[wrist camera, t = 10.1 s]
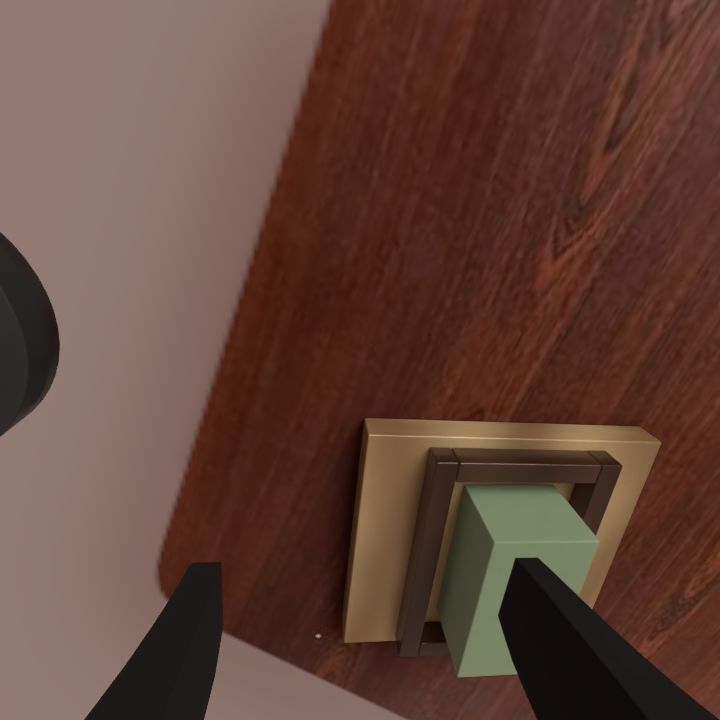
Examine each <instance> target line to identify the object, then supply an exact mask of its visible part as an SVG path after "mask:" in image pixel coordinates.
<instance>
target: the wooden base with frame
mask: <svg viewBox="0 0 720 720" xmlns="http://www.w3.org/2000/svg"><path fill="white" fill-rule="evenodd" d="M660 445H661V442H660V441H659V440H657V439H656V438H655V437H653V436H652V435H650V434H649V433H648V432H646V431H645V430H643V429H642V428H641V427H638V426H605V425H573V424H541V423H508V422H476V421H443V420H411V419H379V418H365V419H364V426H363V435H362V443H361V452H360V461H359V470H358V479H357V487H356V496H355V505H354V514H353V523H352V532H351V540H350V549H349V558H348V567H347V576H346V584H345V593H344V602H343V611H342V629H343V641H344V643H353V642H377V641H396V643H397V648H398V653H399V657H412V656H417V655H418V656H436V655H450V652H449V648H448V645H447V642H446V638H445V635H444V632H443V628H442V625H441V622H440V618H439V615H438V612H437V608H436V607H437V603H438V598H439V594H440V589H441V585H442V581H443V576H444V572H445V567H446V563H447V558H448V554H449V550H450V545H451V541H452V536H453V532H454V528H455V523H456V519H457V514H458V510H459V506H460V501H461V497H462V492H463V488H464V485H553V486H555V487H556V488H557V490H558V491H559V492H560V493H561V495H562V496H563V497H564V498H565V499H566V501H567V502H568V503H569V504H570V505H571V507H572V508H573V509H574V510H575V512H576V513H577V514H578V515H579V516H580V518H581V519H582V520H583V521H584V522H585V524H586V525H587V526H588V527H589V529H590V530H591V531H592V532H593V533H594V535H595V536H596V537H597V538H598V540H599V541H600V543H599V546H598V548H597V551H596V553H595V556H594V558H593V561H592V563H591V566H590V568H589V571H588V573H587V576H586V579H585V581H584V584H583V586H582V589H581V591H580V594H579V597H580V598H581V599H582V600H583V601H584V602H585V603H586V604H587V605H588V606H589V607H590V608H591V609H592V608H593V606H594V604H595V601H596V599H597V596H598V594H599V592H600V589H601V587H602V584H603V582H604V580H605V577H606V575H607V572H608V570H609V568H610V565H611V563H612V560H613V558H614V556H615V553H616V551H617V548H618V546H619V544H620V541H621V539H622V536H623V534H624V531H625V529H626V527H627V524H628V522H629V519H630V517H631V515H632V512H633V510H634V507H635V505H636V503H637V500H638V498H639V495H640V493H641V491H642V488H643V486H644V483H645V481H646V479H647V476H648V474H649V471H650V469H651V467H652V464H653V462H654V459H655V457H656V455H657V452H658V450H659V447H660Z"/></svg>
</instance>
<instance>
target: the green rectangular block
mask: <svg viewBox="0 0 720 720" xmlns="http://www.w3.org/2000/svg"><path fill="white" fill-rule="evenodd" d="M599 543H600V541H599V540H598V538H597V537H596V536H595V535H594V533H593V532H592V531H591V530H590V529H589V527H588V526H587V525H586V524H585V522H584V521H583V520H582V519H581V518H580V516H579V515H578V514H577V513H576V512H575V510H574V509H573V508H572V507H571V505H570V504H569V503H568V502H567V501H566V499H565V498H564V497H563V496H562V495H561V493H560V492H559V491H558V490H557V488H556V487H555V486H553V485H464V488H463V492H462V497H461V501H460V506H459V510H458V514H457V519H456V523H455V528H454V532H453V536H452V541H451V545H450V550H449V554H448V558H447V563H446V567H445V572H444V576H443V581H442V585H441V589H440V594H439V598H438V603H437V607H436V608H437V612H438V615H439V618H440V622H441V625H442V628H443V632H444V635H445V638H446V642H447V645H448V648H449V652H450V655H451V658H452V662H453V665H454V668H455V672H456V675H457V677H473V676H492V675H510V674H517V671H516V669H515V667H514V664H513V662H512V659H511V656H510V653H509V650H508V647H507V644H506V641H505V637H504V634H503V631H502V627H501V624H500V621H499V617H498V613H499V610H500V607H501V603H502V600H503V597H504V593H505V590H506V587H507V584H508V580H509V577H510V574H511V570H512V567H513V564H514V561H515V558H539V559H540V560H541V561H542V562H543V563H544V564H545V565H547V566H548V567H549V568H550V569H551V570H552V571H553V572H554V573H555V574H556V575H557V576H558V577H559V578H560V579H561V580H562V581H563V582H564V583H565V584H566V585H567V586H568V587H570V588H571V589H572V590H573V591H574V592H575V593H576V594H577V595H578V596H579V594H580V591H581V589H582V586H583V584H584V581H585V579H586V576H587V573H588V571H589V568H590V566H591V563H592V561H593V558H594V556H595V553H596V551H597V548H598V546H599Z"/></svg>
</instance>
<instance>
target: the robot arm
mask: <svg viewBox="0 0 720 720" xmlns="http://www.w3.org/2000/svg"><path fill="white" fill-rule="evenodd" d="M498 617H499V621H500V624H501V627H502V631H503V634H504V637H505V641H506V644H507V647H508V650H509V653H510V656H511V659H512V662H513V664H514V667H515V669H516V671H517V674H518V676H519V679H520V681H521V683H522V686H523V688H524V690H525V693H526V695H527V697H528V700H529V702H530V704H531V706H532V709H533V711H534V713H535V716H536V718H537V720H719V719H718V718H717V717H715V716H714V715H713V714H711V713H710V712H709V711H708V710H706V709H705V708H704V707H703V706H701V705H700V704H699V703H697V702H696V701H695V700H694V699H693V698H691V697H690V696H689V695H688V694H687V693H685V692H684V691H683V690H682V689H680V688H679V687H678V686H677V685H676V684H675V683H673V682H672V681H671V680H670V679H669V678H668V677H666V676H665V675H664V674H663V673H662V672H661V671H659V670H658V669H657V668H656V667H655V666H654V665H653V664H651V663H650V662H649V661H648V660H647V659H646V658H644V657H643V656H642V655H641V654H640V653H639V652H638V651H637V650H636V649H634V648H633V647H632V646H631V645H630V644H629V643H628V642H627V641H626V640H624V639H623V638H622V637H621V636H620V635H619V634H618V633H617V632H616V631H615V630H614V629H613V628H612V627H610V626H609V625H608V624H607V623H606V622H605V621H604V620H603V619H602V618H601V617H600V616H599V615H598V614H597V613H596V612H595V611H593V610H592V609H591V608H590V607H589V606H588V605H587V604H586V603H585V602H584V601H583V600H582V599H581V598H580V597H579V596H578V595H577V594H576V593H575V592H574V591H573V590H572V589H571V588H570V587H568V586H567V585H566V584H565V583H564V582H563V581H562V580H561V579H560V578H559V577H558V576H557V575H556V574H555V573H554V572H553V571H552V570H551V569H550V568H549V567H548V566H547V565H545V564H544V563H543V562H542V561H541V560H540V559H539V558H515V561H514V564H513V567H512V570H511V574H510V577H509V580H508V584H507V587H506V590H505V593H504V597H503V600H502V603H501V607H500V610H499V613H498ZM222 629H223V603H222V572H221V562H211V563H193V564H192V565H190V566H189V567H188V569H187V571H186V573H185V574H184V576H183V578H182V580H181V581H180V583H179V585H178V586H177V588H176V590H175V591H174V593H173V595H172V596H171V598H170V600H169V601H168V603H167V604H166V606H165V608H164V609H163V611H162V612H161V614H160V615H159V617H158V618H157V620H156V622H155V623H154V624H153V626H152V628H151V629H150V630H149V632H148V633H147V635H146V636H145V638H144V639H143V640H142V642H141V643H140V645H139V646H138V648H137V649H136V651H135V652H134V654H133V655H132V657H131V658H130V659H129V661H128V662H127V664H126V665H125V666H124V668H123V669H122V671H121V672H120V673H119V674H118V676H117V677H116V679H115V680H114V681H113V682H112V684H111V685H110V686H109V688H108V689H107V690H106V692H105V693H104V695H103V696H102V697H101V698H100V700H99V701H98V702H97V704H96V705H95V706H94V708H93V709H92V710H91V712H90V713H89V714H88V716H87V717H86V718H85V719H84V720H204V717H205V713H206V709H207V705H208V701H209V697H210V693H211V690H212V685H213V681H214V677H215V672H216V666H217V660H218V654H219V648H220V642H221V635H222Z"/></svg>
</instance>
